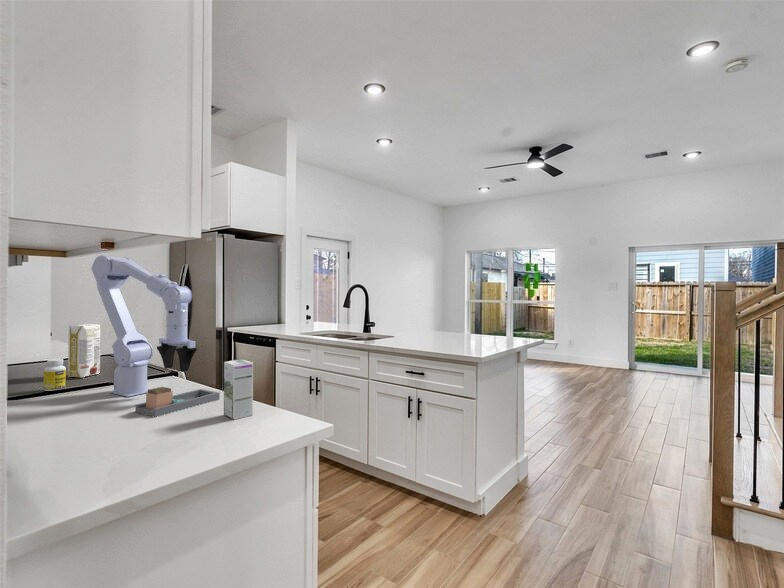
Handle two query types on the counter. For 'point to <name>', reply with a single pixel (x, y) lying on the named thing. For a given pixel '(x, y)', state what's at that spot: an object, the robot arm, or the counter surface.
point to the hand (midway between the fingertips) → (176, 369)
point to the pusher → (177, 400)
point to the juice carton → (84, 350)
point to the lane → (205, 397)
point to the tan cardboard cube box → (158, 397)
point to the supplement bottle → (54, 374)
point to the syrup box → (238, 389)
